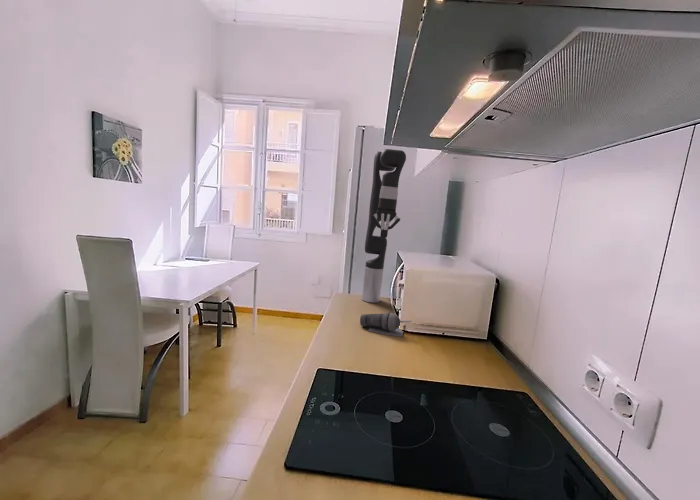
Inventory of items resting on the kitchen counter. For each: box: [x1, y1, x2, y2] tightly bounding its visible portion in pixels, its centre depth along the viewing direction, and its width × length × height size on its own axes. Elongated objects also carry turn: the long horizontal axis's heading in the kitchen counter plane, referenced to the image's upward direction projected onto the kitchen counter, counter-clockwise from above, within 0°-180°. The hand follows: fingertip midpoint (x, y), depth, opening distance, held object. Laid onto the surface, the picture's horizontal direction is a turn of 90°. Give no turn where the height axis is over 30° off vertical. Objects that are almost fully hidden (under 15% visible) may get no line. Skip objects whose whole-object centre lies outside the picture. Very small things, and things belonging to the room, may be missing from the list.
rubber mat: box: [368, 327, 404, 338], centre depth 149 cm, size 16×13×1 cm
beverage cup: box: [359, 312, 413, 331], centre depth 144 cm, size 7×7×20 cm
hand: (383, 238), depth 158 cm, fingers closed
